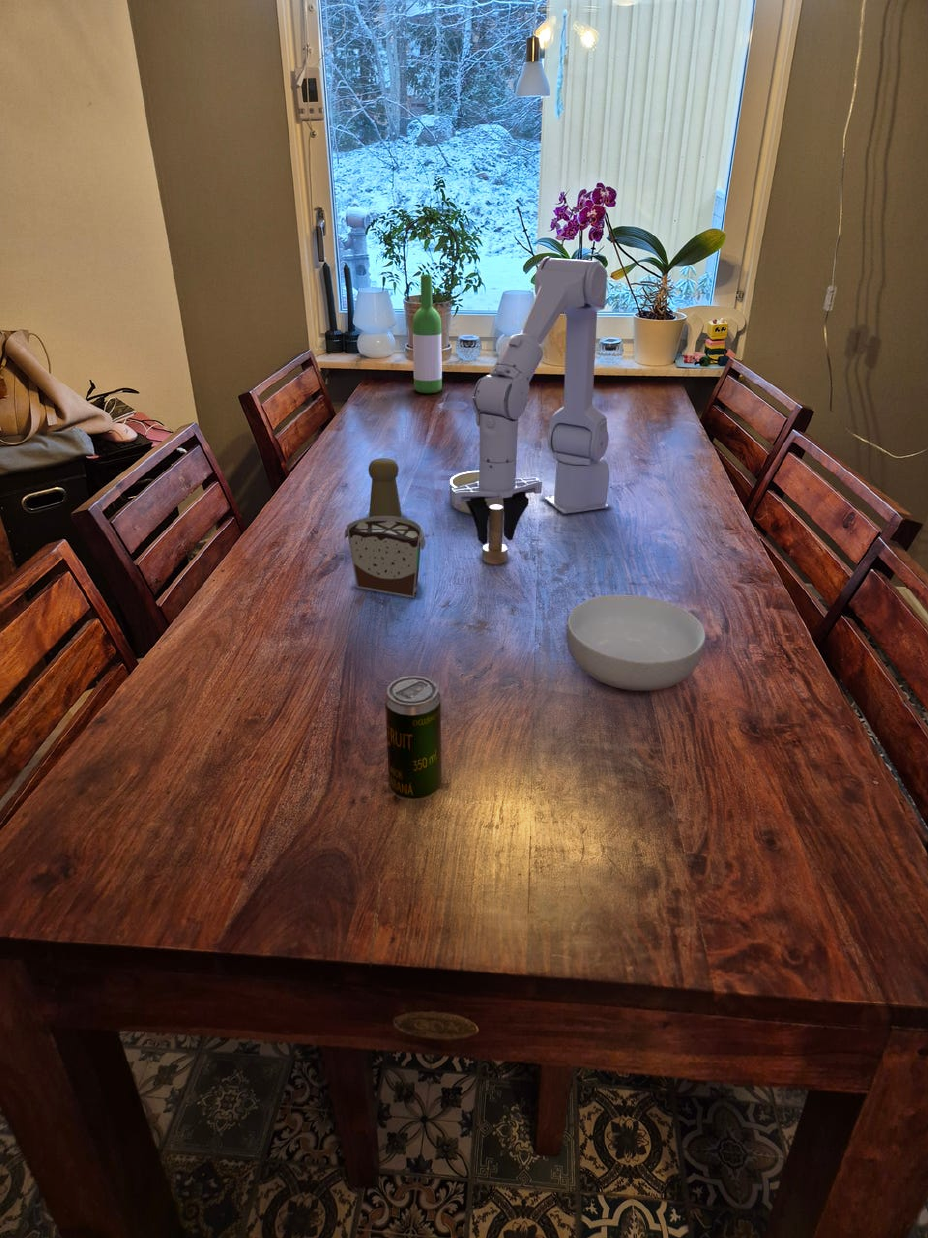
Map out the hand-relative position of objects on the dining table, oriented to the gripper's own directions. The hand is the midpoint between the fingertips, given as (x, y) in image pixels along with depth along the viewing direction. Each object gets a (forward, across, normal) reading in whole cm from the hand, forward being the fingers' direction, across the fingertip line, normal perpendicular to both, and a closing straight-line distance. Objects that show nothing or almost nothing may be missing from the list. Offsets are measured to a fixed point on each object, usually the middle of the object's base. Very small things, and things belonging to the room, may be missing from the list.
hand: (495, 539), depth 130 cm
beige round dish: (+3, +7, +23) cm, 24 cm away
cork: (+4, -12, +22) cm, 25 cm away
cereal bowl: (+4, +3, -37) cm, 37 cm away
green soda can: (+4, -29, -48) cm, 56 cm away
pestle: (+3, 0, 0) cm, 3 cm away
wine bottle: (+4, +25, +108) cm, 111 cm away
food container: (+4, -18, -3) cm, 19 cm away
